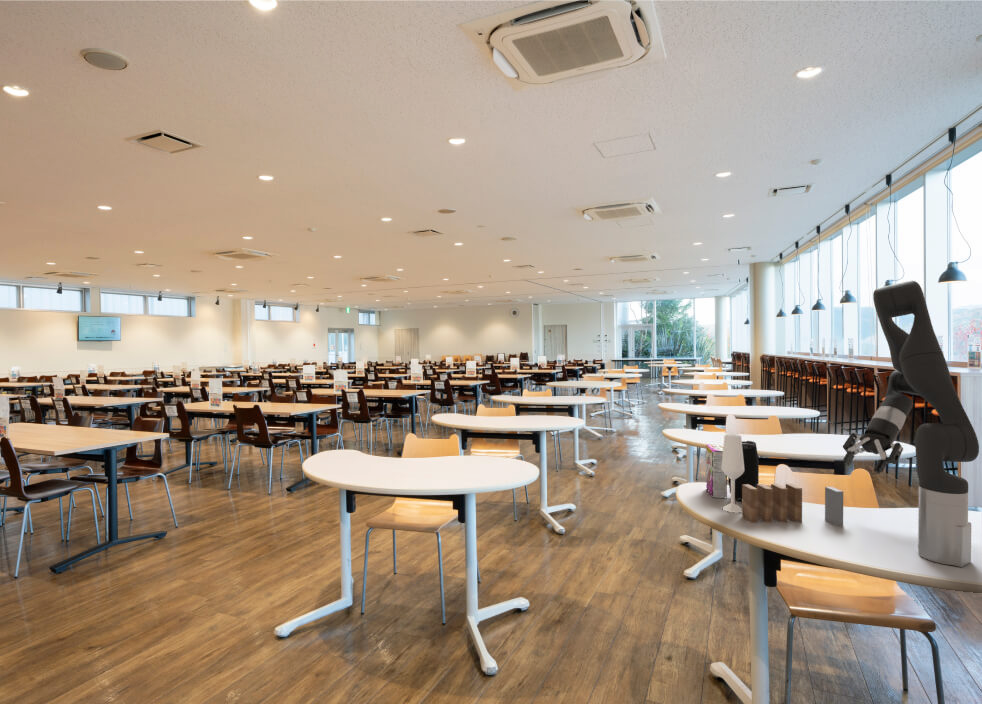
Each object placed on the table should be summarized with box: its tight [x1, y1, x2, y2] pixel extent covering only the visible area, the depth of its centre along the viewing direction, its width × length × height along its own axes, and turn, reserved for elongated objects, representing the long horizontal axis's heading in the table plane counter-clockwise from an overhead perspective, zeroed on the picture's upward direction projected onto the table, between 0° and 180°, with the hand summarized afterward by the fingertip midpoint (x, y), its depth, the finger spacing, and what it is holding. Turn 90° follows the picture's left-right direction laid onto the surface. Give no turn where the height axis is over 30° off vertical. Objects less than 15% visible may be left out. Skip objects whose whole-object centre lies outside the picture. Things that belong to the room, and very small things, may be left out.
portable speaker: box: [727, 440, 760, 501], centre depth 177 cm, size 9×9×20 cm
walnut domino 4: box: [785, 483, 803, 523], centre depth 158 cm, size 2×5×10 cm, turn 2°
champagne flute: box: [721, 433, 744, 514], centre depth 167 cm, size 7×7×24 cm
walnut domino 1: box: [741, 484, 758, 523], centre depth 157 cm, size 2×5×10 cm, turn 2°
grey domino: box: [824, 486, 844, 527], centre depth 154 cm, size 2×5×10 cm, turn 2°
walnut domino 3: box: [770, 483, 788, 523], centre depth 158 cm, size 2×5×10 cm, turn 1°
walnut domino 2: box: [757, 483, 773, 523], centre depth 158 cm, size 2×5×10 cm, turn 2°
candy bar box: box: [705, 444, 728, 499], centre depth 184 cm, size 11×5×16 cm, turn 168°
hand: (860, 467), depth 155 cm, fingers open, 8 cm apart
